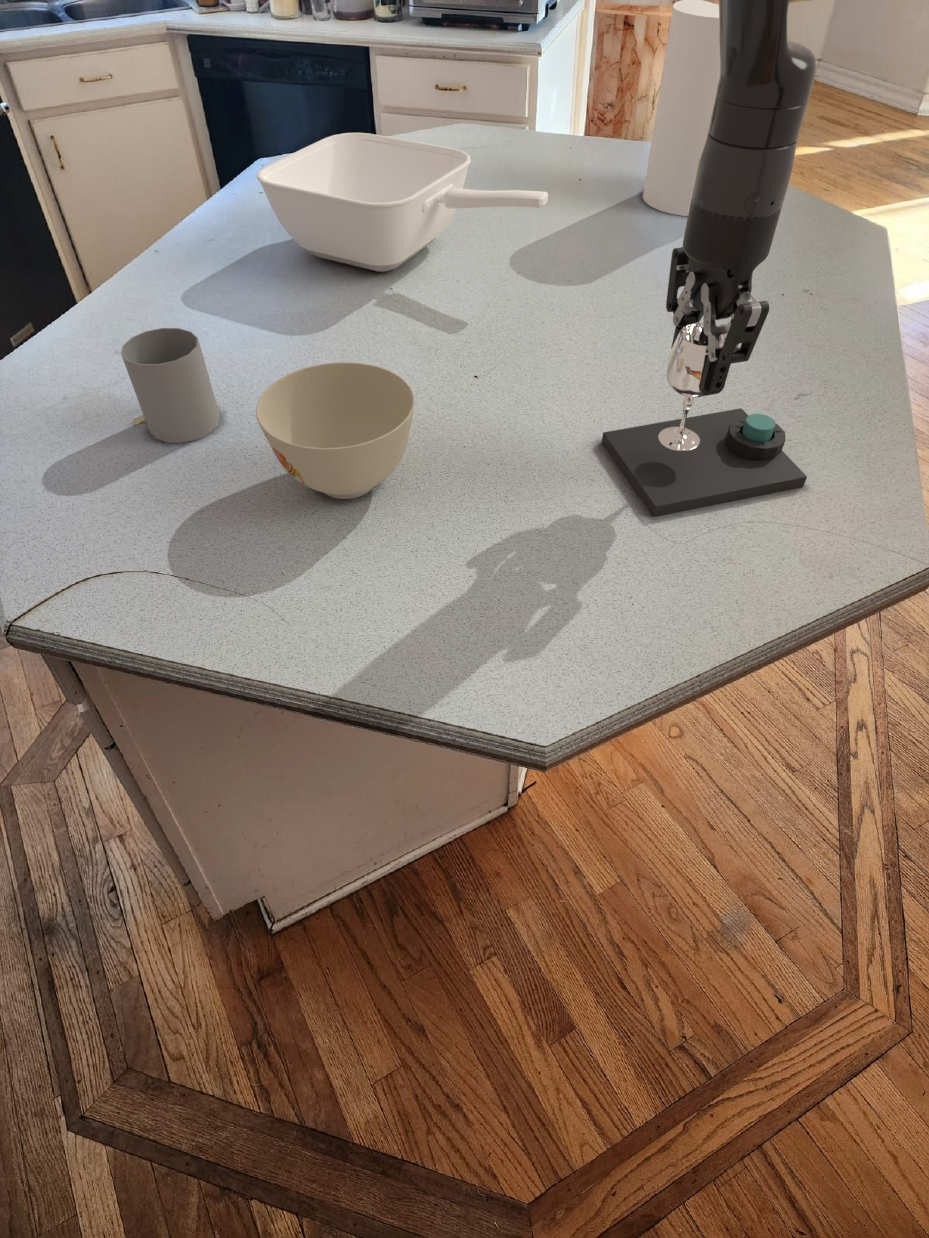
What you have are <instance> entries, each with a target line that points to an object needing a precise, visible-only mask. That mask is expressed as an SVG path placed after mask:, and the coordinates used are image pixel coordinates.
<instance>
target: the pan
mask: <svg viewBox="0 0 929 1238" xmlns="http://www.w3.org/2000/svg"><path fill="white" fill-rule="evenodd" d="M471 162H472V160H471V155H470V154H468V153H467V152H465V151H464V150H462V149H457V148H454V147H449V146H444V145H439V144H432V143H426V142H421V141H414V140H411V139H409V140H408V139H403V138H397V137H393V136H386V135H380V134H376V133H375V134H374V133H367V132H345V133H344V132H343V133H339V134H333V135H330V136H326V137H324V138H322V139H320V140H317V141H316V142H313V143H311V144H309V145H307V146H305V147H302V148H301V149H298V150H297V151H295V152H293V153H290V154H289V155H286V156H284V157H282V158H280V159H278V160H276V161H274V162H272V163H270V164H268V165H265V166H264V167H262V168H261V169H259V170H258V172H257V175H256V179H257V180H258V181H259V183H260V185H261V188H262V189H263V192H264V194H265V196H266V199H267V200H268V203H269V205H270V207H271V209H272V211H273V214H274V215H275V217H276V219H277V220H278V222H279V224H280V225H281V226H282V227H283V229H284V230H285V232H287V233H288V235H289V236H290V237H291V238H292V240H293V241H295V243H297V244H298V245H299V246H300V247H301V248H303V249H304V250H305V251H307V252H308V253H309V254H311V255H313V256H315V257H317V258H321V259H325V260H329V261H333V262H337V263H340V264H341V263H342V264H346V265H350V266H353V267H357V268H361V269H367V270H370V271H375V272H378V273H379V272H380V273H382V272H384V273H385V272H390V271H392V270H395V269H397V268H399V267H400V266H401V265H403V264H404V263H406V262H408V260H410V259H411V258H413V257H414V256H415V255H417V254H418V253H419V252H421V251H422V250H424V249H425V248H427V247H428V246H429V245H431V244H432V243H433V242H434V241H435V240H436V239H437V238H438V237H439V236H440V235H441V234H442V233H443V232H444V231H445V229H446V228H447V226H448V225H449V224H450V222H451V221H452V219H453V217H454V215H455V213H456V211H457V209H477V208H479V209H480V208H501V207H502V208H503V207H504V208H505V207H514V208H515V207H516V208H534V209H540V208H542V207H544V206H545V205H546V204H547V203H548V200H549V193H548V192H547V191H539V190H538V191H537V190H524V189H523V190H522V189H506V190H505V189H504V190H503V189H501V190H481V189H469V188H468V189H467V188H464V186H465V182H466V178H467V173H468V169H469V166H470V164H471Z"/></svg>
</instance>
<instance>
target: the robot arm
mask: <svg viewBox="0 0 929 1238" xmlns="http://www.w3.org/2000/svg"><path fill="white" fill-rule="evenodd" d="M810 1H811V0H718V5H719V45H720V78H719V82H718V86H717V91H716V96H715V101H714V106H713V111H712V115H711V120H710V125H709V130H708V131H709V132H708V135H707V139H706V142H705V145H704V148H703V151H702V154H701V158H700V161H699V165H698V169H697V174H696V179H695V184H694V189H693V194H692V199H691V204H690V209H689V214H688V216H687V220H686V225H685V229H684V235H683V240H682V246H681V247H674V248H673V249H672V251H671V260H670V266H669V267H670V268H669V276H668V284H667V285H668V286H667V294H666V300H665V301H666V302H665V309H666V311H667V312H668V313H672V314H673V316H672V323H673V325H674V326H675V328H674V333H673V336H672V337H673V338H672V343H671V347H670V350H671V349H672V347H673V345H674V342H675V340H676V338H677V336H678V334H679V332H680V330H681V329H682V328H683V327H684V326H686V325H689V324H694V323H700V321H701V320H702V318H703V322H702V323H703V331H704V334H705V335H706V336H708V358H707V359H706V363H705V367H704V371H703V375H702V379H701V383H700V387H699V391H700V392H701V393H702V394H703V395H704V396H703V397H706V396H712V395H718V394H720V393H721V392H723V390H724V388H725V386H726V382H727V380H728V379H727V378H728V375H729V371H730V368H731V365H732V364H739V363H745V362H748V361H749V360H750V358H751V355H752V353H753V351H754V349H755V346H756V343H757V341H758V339H759V336H760V334H761V331H762V329H763V327H764V324H765V321H766V319H767V317H768V314H769V312H770V303H769V302H768V301H767V300H762V301H757V300H756V298H754V296H753V295H752V294H751V293H752V290H753V273H754V271H755V270H756V268H758V267H759V265H760V264H762V263H763V262H764V261H765V260H766V259H767V258H768V256H769V254H770V252H771V247H772V244H773V240H774V236H775V233H776V230H777V226H778V222H779V219H780V215H781V212H782V209H783V205H784V201H785V198H786V196H787V195H786V194H787V192H788V189H789V188H788V187H789V184H790V180H791V177H792V172H793V169H794V162H795V154H796V150H797V144H798V140H799V136H800V133H801V131H802V130H801V129H802V125H803V122H804V119H805V115H806V111H807V108H808V104H809V101H810V97H811V94H812V90H813V88H814V87H813V86H814V82H815V78H816V73H817V60H816V56H815V54H814V53H813V51H812V50H811V49H810V48H809V47H807V46H806V45H803V44H801V43H798V42H795V41H791V40H788V14H789V7H790V6H789V5H790V3H798V2H799V3H800V2H810ZM681 287H683V289H682V291H681V292H680V295H679V296H678V293H679V289H680V288H681ZM729 318H730V321H729V322H728V323H724V324H717V323H716V321H720V320H726V319H729ZM722 334H727V336H726V339H725V342H724V344H723V347H720V336H721V335H722ZM739 344H740V347H739Z"/></svg>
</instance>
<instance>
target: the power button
mask: <svg viewBox="0 0 929 1238" xmlns="http://www.w3.org/2000/svg"><path fill="white" fill-rule="evenodd" d="M775 423H776V421H775V419H774V418H773V417H771V416H770V415H767V414H763V413H751V414H750V415H749V414H748V417H747V418H746V420H745V424H744V427H743V430H742V435H743V436H744V438H747V439H749V440H751V441H755V442H767V441H769V440H770V439H771V436H772V434H773V431H774V428H775Z"/></svg>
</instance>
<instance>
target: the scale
mask: <svg viewBox="0 0 929 1238" xmlns="http://www.w3.org/2000/svg"><path fill="white" fill-rule="evenodd" d="M748 416H749V414H748V413H746V411H745V410H744V409H743V408H742V407H741V408H740V407H739V408H734V409H729V410H723V411H716V412H711V413H707V414H706V413H705V414H701V415H695V416H689V417H688V416H687V418H686V422H685V428H687V429H689V430H691V431H693V432H695V433H696V434H697V435H698V436H699V438H700V444H699V446H698V447H697V448H695V449H693V450H690V451H675V450H672V449H669V448H667V447H665V446H664V445H662V444H661V443H660V441H659V438H658V436H659V433H660V432H661V431H662V430H664V429H666V428H669V427H680V424H681V420H682V418H677V419H672V420H667V421H666V420H665V421H660V422H655V423H649V424H643V425H637V426H632V427H626V428H620V429H615V430H609V431H604V432H602V437H601V444H602V445H603V447H604V448H605V449H606V451H607V452H608V454H609V455H610V457H611V458H612V460H613V461H614V462H615V463H616V465H617V467H618V468H619V469H620V471H621V472H622V474H623V476H624V477H625V478H626V479H627V481H628V482H629V484H630V485H631V487H632V489H634V491H635V492H636V494H637V495H638V497H639V498H640V500H641V501H642V502H643V504H644V505H645V506H646V509H648V511H649V512H650V514H651V515H652V517H659V516H664V515H668V514H669V515H670V514H674V513H678V512H683V511H688V510H689V511H690V510H693V509H699V508H703V507H708V506H713V505H714V506H715V505H719V504H723V503H728V502H734V501H739V500H745V499H749V498H753V497H754V498H755V497H759V496H765V495H769V494H773V493H779V492H784V491H790V490H793V489H799V488H803V487H804V486H805V483H806V481H807V478H808V476H807V475H806V474H805V472H804V471H802V469H800V467H799V466H798V465H796V463H795V462H794V461H793V460H792V459H791V458H790V456H788V455H787V454H786V453H785V452H784V451H783V448H784V446H785V442H786V432H785V430H784V429H783V428H782V427H781V426H780V425H778V424H777V423H776V422H775V428H774V431H773V434H772V436H771V439H770V440H769V441H767V442H755V441H751V440H749V439H747V438H744V436H743V435H742V430H743V427H744V424H745V420H746V418H747V417H748Z"/></svg>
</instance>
